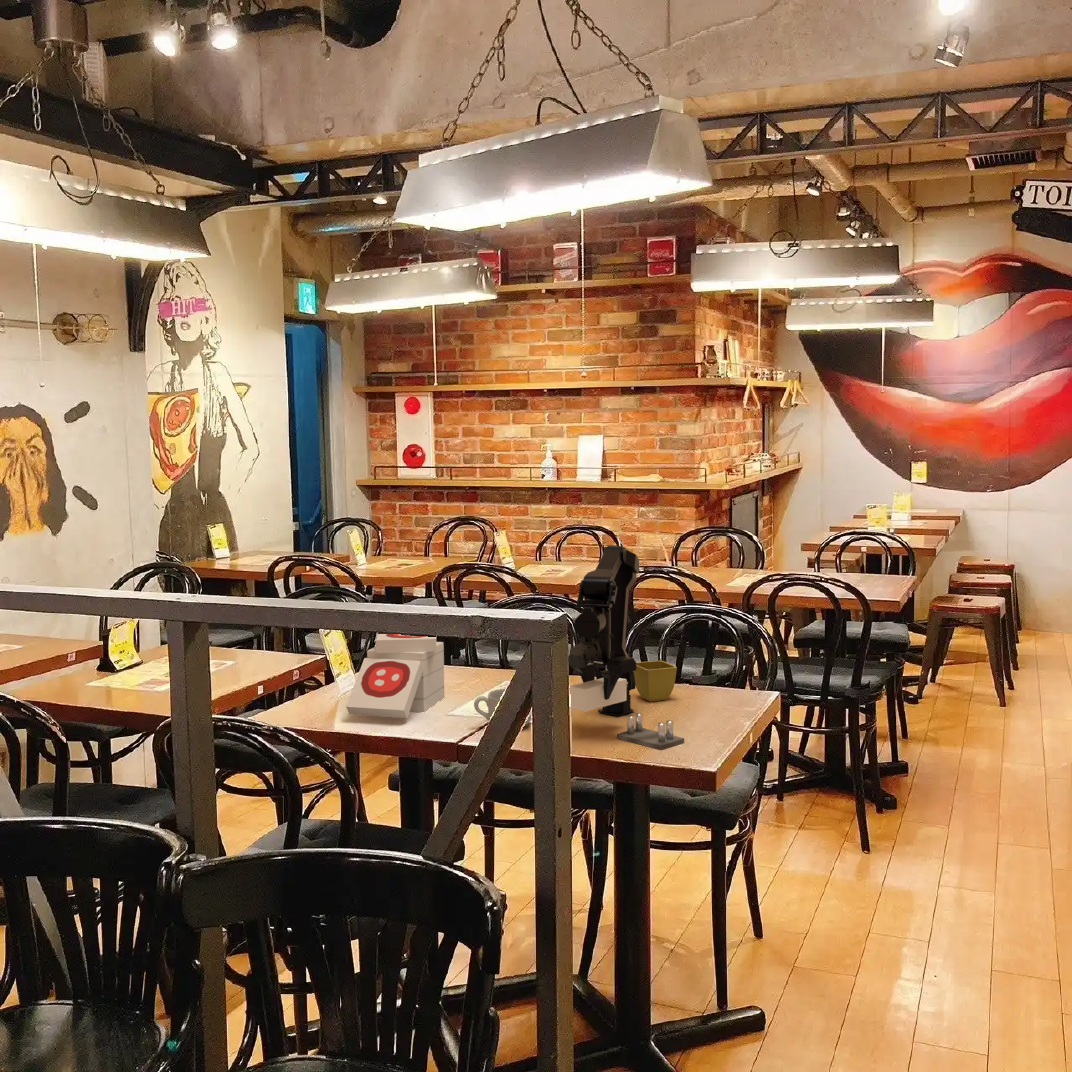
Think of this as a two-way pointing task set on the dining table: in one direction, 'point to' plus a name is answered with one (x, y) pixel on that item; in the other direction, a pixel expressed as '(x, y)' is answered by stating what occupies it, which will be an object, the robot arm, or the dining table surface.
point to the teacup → (491, 703)
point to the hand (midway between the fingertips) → (598, 697)
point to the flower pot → (655, 679)
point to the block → (596, 694)
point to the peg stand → (649, 734)
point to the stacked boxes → (399, 677)
